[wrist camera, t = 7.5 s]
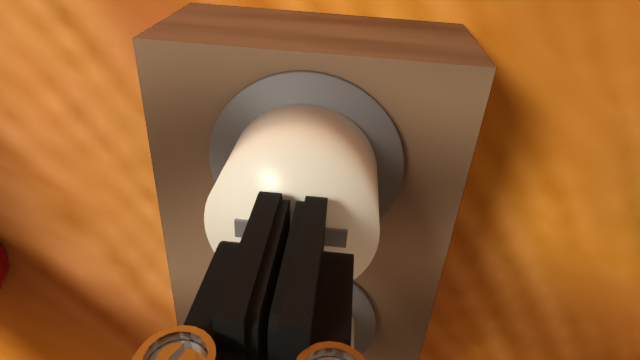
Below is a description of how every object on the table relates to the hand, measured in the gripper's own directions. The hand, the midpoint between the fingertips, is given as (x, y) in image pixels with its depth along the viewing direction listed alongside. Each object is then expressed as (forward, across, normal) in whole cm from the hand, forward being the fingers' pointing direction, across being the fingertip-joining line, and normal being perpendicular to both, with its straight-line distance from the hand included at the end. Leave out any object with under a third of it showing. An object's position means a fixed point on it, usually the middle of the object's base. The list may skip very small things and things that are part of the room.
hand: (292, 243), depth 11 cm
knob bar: (+9, 0, +7) cm, 11 cm away
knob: (+4, 0, 0) cm, 4 cm away
